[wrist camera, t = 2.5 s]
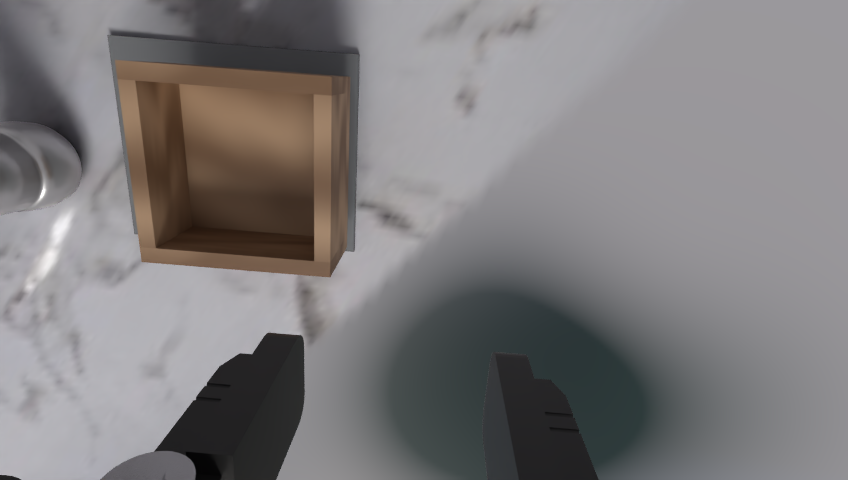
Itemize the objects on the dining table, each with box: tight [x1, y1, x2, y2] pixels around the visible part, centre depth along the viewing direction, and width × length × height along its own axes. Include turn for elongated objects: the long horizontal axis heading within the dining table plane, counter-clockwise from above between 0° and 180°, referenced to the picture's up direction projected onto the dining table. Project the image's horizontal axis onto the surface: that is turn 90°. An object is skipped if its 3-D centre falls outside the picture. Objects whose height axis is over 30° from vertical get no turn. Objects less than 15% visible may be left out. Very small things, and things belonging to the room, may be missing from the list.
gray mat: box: [108, 35, 360, 252], centre depth 36 cm, size 15×18×1 cm
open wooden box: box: [115, 60, 350, 277], centre depth 32 cm, size 12×12×8 cm
